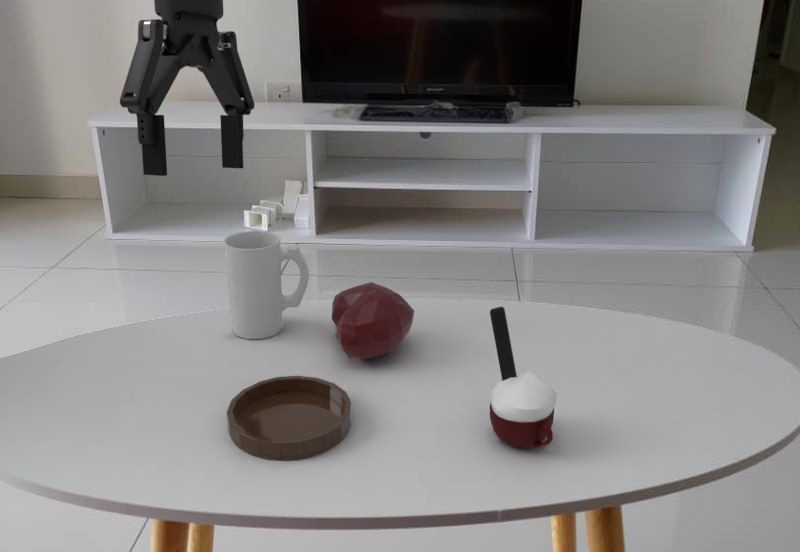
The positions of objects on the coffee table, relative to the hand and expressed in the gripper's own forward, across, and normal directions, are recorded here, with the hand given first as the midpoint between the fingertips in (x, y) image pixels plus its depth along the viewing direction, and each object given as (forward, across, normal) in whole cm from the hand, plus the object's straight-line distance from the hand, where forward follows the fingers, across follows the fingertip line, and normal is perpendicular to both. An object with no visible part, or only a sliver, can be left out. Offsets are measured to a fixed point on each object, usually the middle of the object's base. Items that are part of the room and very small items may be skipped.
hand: (196, 171), depth 89 cm
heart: (+21, +7, -20) cm, 30 cm away
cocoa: (+24, -2, -41) cm, 48 cm away
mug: (+20, +6, -6) cm, 22 cm away
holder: (+24, -11, -20) cm, 33 cm away
